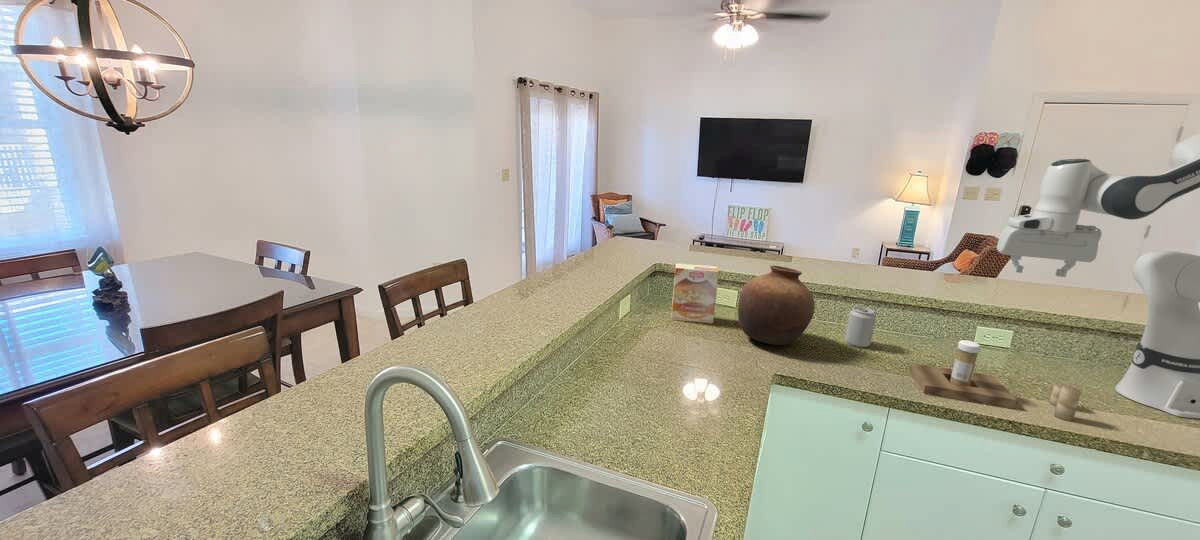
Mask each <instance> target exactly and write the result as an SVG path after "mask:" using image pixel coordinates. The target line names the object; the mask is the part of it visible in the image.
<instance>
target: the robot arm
mask: <svg viewBox="0 0 1200 540" xmlns="http://www.w3.org/2000/svg"><path fill="white" fill-rule="evenodd" d="M1169 165H1170V167H1171V169H1169V170H1166V171H1164V172H1162V173H1160V174H1156V175H1124V174H1123V175H1122V174H1113V173H1111V174H1110V173H1108V172H1106V171H1104V170H1102V169H1100V168H1098V167H1096V166H1095V165H1094V164H1093V162H1092V160H1091V159H1088V158H1087V159H1086V158H1073V159H1072V158H1071V159H1070V158H1067V159H1060V160H1056V161H1054V162H1052V163H1051V164H1049V166H1048V167H1047V169H1046V171H1045V173H1044V174H1043V178H1042V180H1041V183H1040V186H1039V191H1038V201H1037V204H1036V205H1035V206H1034V208H1033V211H1032V213H1029V214H1024V215H1017V216H1012V217H1009V218H1008V219H1007V225H1009V226H1007V227H1005V228H1003V230H1002V232H1001V235H1000V236H999V239H998V242H997V245H996V250H997V252H998V253H999V254H1002V255H1003V256H1004V255H1005V256H1010V259H1011V262H1012V264H1013V266H1012V267H1013V268H1012V272H1013V273H1020V274H1021V273H1023V270H1024V266H1023V265H1021V264H1020V262H1019V261H1021V260H1022V257H1026V258H1027V257H1028V258H1040V259H1049V260H1061V261H1063V263H1064V265H1063V266H1062V267H1061V268H1057V269H1056V271H1055V277H1059V278H1060V277H1061V278H1066V276H1067V274H1068V272H1069V271H1070V270H1071V269H1072V268H1073V267H1075V266H1076V263H1077V262H1079V263H1080V262H1083V263H1091V262H1093V261H1094V260H1096V258H1097V255H1098V249H1099V242H1100V240H1101V238H1102V235H1103V232H1102V230H1101V229H1100V228H1098V227H1097V226H1096V225H1084V224H1078V223H1079V218H1080V215H1081V210H1082V211H1086V212H1090V213H1091V212H1092V213H1096V214H1103V215H1109V216H1114V217H1116V218H1117V217H1118V218H1119V219H1124V220H1131V221H1132V220H1139V219H1143V218H1147V217H1148V216H1150V215H1152V214H1153V213H1155V212H1156V211H1158V210H1159V209H1161V208H1162V207H1164V206H1165V205H1166V204H1168V203H1170V202H1171V201H1172V200H1175V199H1177V198H1180V197H1182V196H1183V195H1186V194H1189V193H1191V192H1193V191H1195V190H1198V189H1199V188H1200V132H1198V133H1196V134H1193V135H1191V136H1189V137H1187V138H1185V139H1183V140H1181V141H1180V142H1178V143H1176V144H1175V145H1174V147H1172V150H1171V152H1170V154H1169ZM1131 271H1132V277H1133V279H1134V280H1135V282H1136V283H1137V284H1138V285H1139V287H1140V288H1141V289H1142V291H1143V293H1144V296H1145V299H1146V303H1147V310H1148V312H1147V313H1148V315H1147V320H1146V324H1145V328H1144V331H1143V334H1142V337H1141V339H1140V340H1141V341H1138V343H1137V345H1136V347H1135V349H1134V351H1133V355H1132V359H1131V364H1130V366H1129V368H1128V370H1127V371H1126V373H1125V374H1124V376H1123V377H1122V378H1121V379H1120V381H1119V382H1118V383H1117V384H1116V385H1115V387H1114V389H1115V391H1116V392H1117V393H1118V394H1120V395H1122V396H1123V397H1125V398H1128V400H1129V399H1130V400H1132V401H1134V402H1136V403H1138V404H1139V403H1140V404H1142V405H1144V406H1148V407H1152V408H1155V409H1158V410H1160V411H1164V412H1166V413H1168V414H1170V415H1173V416H1175V417H1181V418H1187V419H1188V418H1189V419H1200V306H1199V303H1200V255H1196V254H1191V253H1186V252H1182V251H1181V252H1180V251H1173V250H1172V251H1171V250H1152V251H1148V252H1146V253H1144V254H1142V255H1141V256H1140V257H1138V258H1137V259H1136V261H1134V263H1133V266H1132V270H1131Z"/></svg>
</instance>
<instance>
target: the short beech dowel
mask: <svg viewBox="0 0 1200 540" xmlns="http://www.w3.org/2000/svg"><path fill="white" fill-rule="evenodd" d="M1062 386H1065V385H1064V384H1060V383H1055V384H1054V385H1053V388H1052V391H1051V395H1050V396H1049V397H1050V398H1049V401H1048V403H1049V404H1050V405H1051V406H1052V407H1055V406H1057V403H1058V399H1059V395H1060V392H1061V388H1062Z"/></svg>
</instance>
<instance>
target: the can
mask: <svg viewBox="0 0 1200 540" xmlns="http://www.w3.org/2000/svg"><path fill="white" fill-rule="evenodd" d="M876 319H877V315H875V310H873V309H871V308H869V307H866V306H865V307H864V306H853V307H852V310H850V311H849V315H848V321H847V327H846V332H845V337H844V340H845V341H846V343H847V344H849V345H850V346H852V347H856V348H863V349H864V348H867V347H869V346H870V345H871V344H872V339H873V335H874V329H875V324H876Z"/></svg>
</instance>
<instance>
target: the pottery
mask: <svg viewBox="0 0 1200 540" xmlns="http://www.w3.org/2000/svg"><path fill="white" fill-rule="evenodd" d="M769 267H770V270H771V271H770V272H768V273H766V274H762V275H759V276H757V277H755V278H752V279H750V280H749V281H748V282H746V283H745V284H744V285H743V287H742V289H741V290H740V294H739V298H738V302H737V303H738V305H737V306H738V307H737V319H738V320H737V321H738V324H739V327H740V329H741V331H742V332H743V334H745V336H748V337H749V338H751V339H752V340H754V341H758V342H760V343H764V344H768V345H773V346H774V345H775V346H785V345H789V344H791V343H793V342H796V340H798V339H799V338H800V337H801V335H802V334H803V333H804V332H805V331H806V329H807V327H808V326H809V324H810V323H811V321H812V319H813V316H814V314H815V306H816V305H815V299H814V295H813V294H812V293H811V291H810V289H809V288H808V287H807V285H806V284H804V283H803V282H802V281H801V280H800V279H799V277H800V276H801V275H802V274H803V272H802V271H801V270H797V269H793V268H790V267H786V266H779V265H774V264H772V265H769Z"/></svg>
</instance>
